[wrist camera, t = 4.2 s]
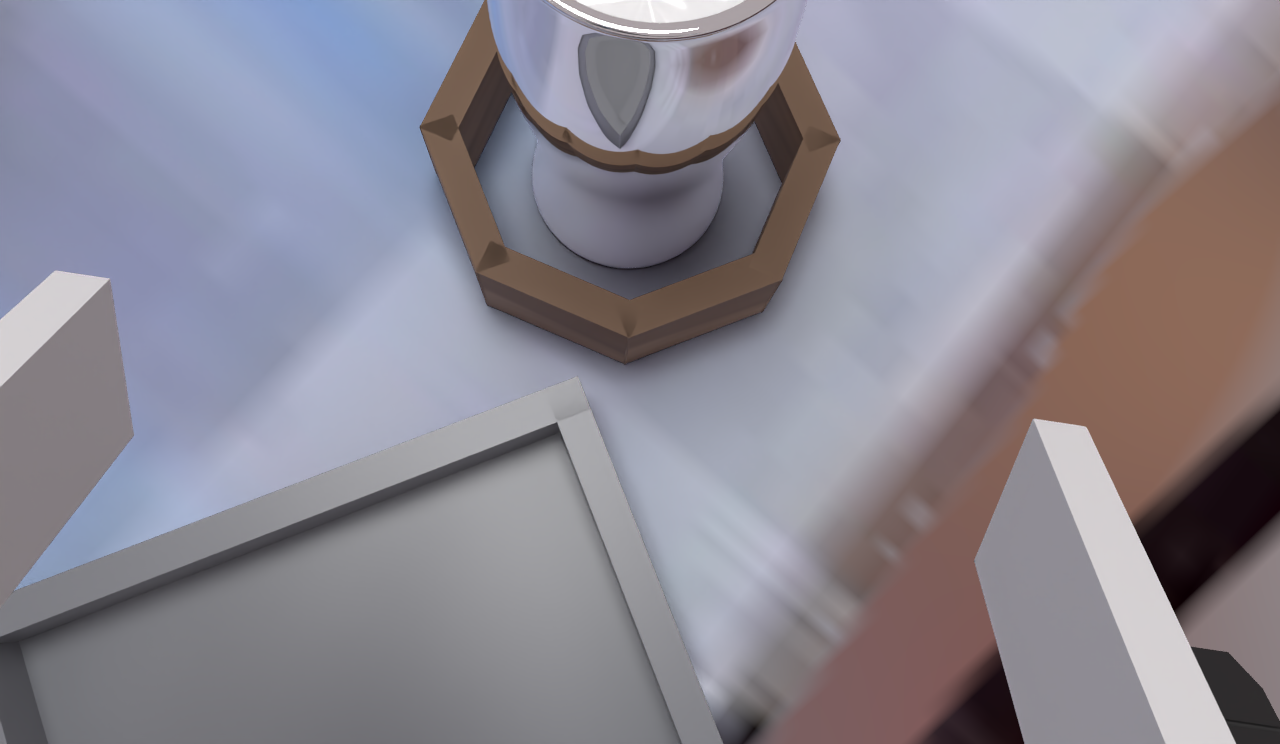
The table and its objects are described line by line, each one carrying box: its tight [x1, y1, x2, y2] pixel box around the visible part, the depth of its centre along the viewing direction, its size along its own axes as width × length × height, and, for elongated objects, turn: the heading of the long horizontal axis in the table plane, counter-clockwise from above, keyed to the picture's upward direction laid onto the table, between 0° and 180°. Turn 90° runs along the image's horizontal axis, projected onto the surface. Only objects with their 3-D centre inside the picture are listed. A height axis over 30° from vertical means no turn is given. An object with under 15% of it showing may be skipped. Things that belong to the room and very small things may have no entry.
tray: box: [0, 376, 723, 744], centre depth 30 cm, size 18×13×3 cm
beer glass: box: [487, 0, 807, 268], centre depth 27 cm, size 7×7×15 cm
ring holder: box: [420, 0, 841, 364], centre depth 33 cm, size 11×11×4 cm
